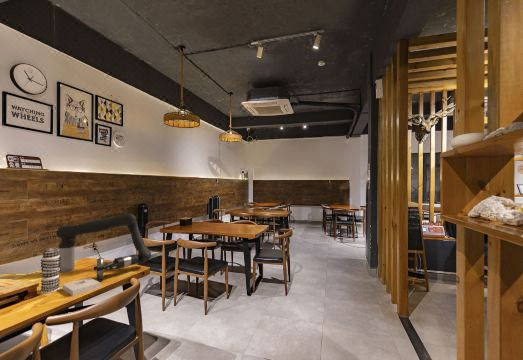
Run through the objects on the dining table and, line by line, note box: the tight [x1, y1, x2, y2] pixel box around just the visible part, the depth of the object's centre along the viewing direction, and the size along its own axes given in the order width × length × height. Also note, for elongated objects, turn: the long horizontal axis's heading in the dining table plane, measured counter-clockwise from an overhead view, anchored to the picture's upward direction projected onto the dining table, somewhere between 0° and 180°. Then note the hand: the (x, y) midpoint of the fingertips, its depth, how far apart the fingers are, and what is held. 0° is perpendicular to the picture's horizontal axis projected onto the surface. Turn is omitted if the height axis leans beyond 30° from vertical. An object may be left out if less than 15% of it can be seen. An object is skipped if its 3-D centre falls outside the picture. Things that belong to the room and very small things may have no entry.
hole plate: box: [61, 276, 101, 297], centre depth 149 cm, size 16×14×3 cm
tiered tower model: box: [40, 247, 61, 295], centre depth 146 cm, size 9×9×25 cm
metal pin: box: [96, 257, 104, 282], centre depth 161 cm, size 4×4×14 cm
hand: (95, 269), depth 159 cm, fingers closed on metal pin, 3 cm apart
